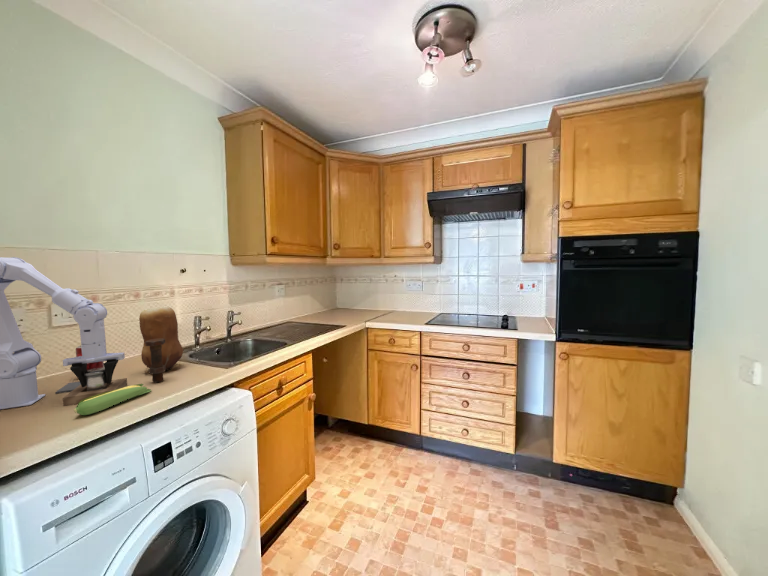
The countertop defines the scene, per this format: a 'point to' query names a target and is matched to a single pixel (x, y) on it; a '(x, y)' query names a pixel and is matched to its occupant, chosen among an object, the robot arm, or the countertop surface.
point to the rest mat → (68, 387)
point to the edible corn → (109, 399)
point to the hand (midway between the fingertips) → (97, 384)
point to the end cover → (96, 379)
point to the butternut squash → (161, 335)
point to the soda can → (89, 365)
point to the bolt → (156, 359)
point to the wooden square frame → (91, 392)
